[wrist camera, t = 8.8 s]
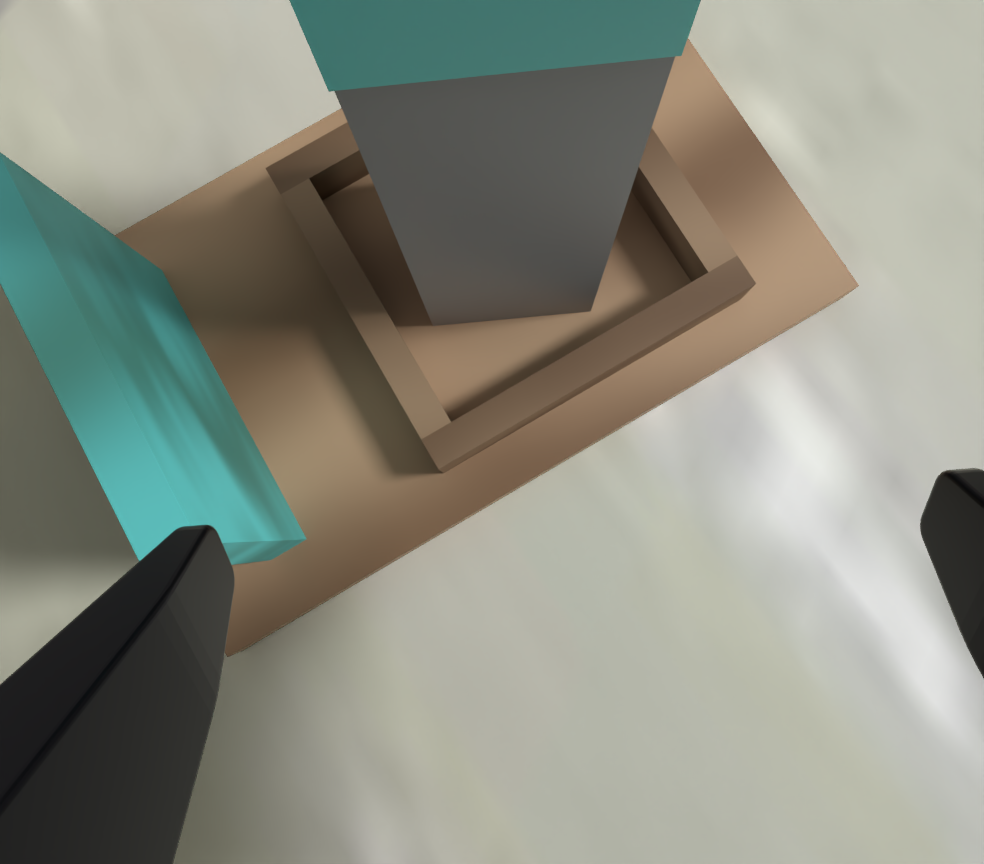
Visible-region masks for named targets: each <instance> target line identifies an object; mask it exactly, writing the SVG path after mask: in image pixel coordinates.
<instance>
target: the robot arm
mask: <svg viewBox="0 0 984 864" xmlns="http://www.w3.org/2000/svg"><path fill="white" fill-rule="evenodd" d="M920 529H921V535H922V538H923V541H924V544H925V546H926V548H927V551H928V553H929V556H930V558H931V561H932V563H933V566H934V568H935V571H936V573H937V575H938V578H939V580H940V583H941V585H942V588H943V590H944V593H945V595H946V598H947V600H948V603H949V605H950V607H951V610H952V612H953V615H954V617H955V620H956V622H957V625H958V627H959V630H960V632H961V634H962V636H963V638H964V641H965V643H966V645H967V647H968V649H969V651H970V653H971V655H972V657H973V659H974V661H975V663H976V665H977V667H978V669H979V671H980V672H981V674H982V676H983V678H984V471H983V470H981V469H975V468H970V469H956V470H947V471H944V472H942V473H941V474H940V475H939V476H938V477H937V479H936V481H935V483H934V486H933V489H932V491H931V494H930V496H929V499H928V501H927V504H926V507H925V509H924V512H923V514H922V517H921V523H920ZM234 586H235V577H234V571H233V567H232V565H231V562H230V560H229V558H228V555H227V553H226V551H225V548H224V546H223V544H222V541H221V539H220V537H219V534H218V532H217V531H216V529H215V528H214V527H213V526H211V525H195V526H183V527H179V528H178V529H176V530H175V531H173V532H172V533H171V534H170V535H169V536H168V537H166V538H165V539H164V540H163V541H162V542H161V543H160V544H159V545H157V546H156V547H155V548H154V549H153V550H152V551H151V552H149V553H148V554H147V555H146V556H145V557H144V558H143V559H142V560H140V561H139V562H138V563H137V564H136V565H135V566H134V567H133V568H131V569H130V570H129V571H128V572H127V573H126V574H125V575H123V576H122V577H121V578H120V579H119V580H118V581H117V582H116V583H114V584H113V585H112V586H111V587H110V588H109V589H108V590H107V591H105V592H104V593H103V594H102V595H101V596H100V597H99V598H98V599H96V600H95V601H94V602H93V603H92V604H91V605H90V606H88V607H87V608H86V609H85V610H84V611H83V612H82V613H81V614H79V615H78V616H77V617H76V618H75V619H74V620H73V621H72V622H70V623H69V624H68V625H67V626H66V627H65V628H64V629H63V630H61V631H60V632H59V633H58V634H57V635H56V636H55V637H53V638H52V639H51V640H50V641H49V642H48V643H47V644H46V645H44V646H43V647H42V648H41V649H40V650H39V651H38V652H37V653H35V654H34V655H33V656H32V657H31V658H30V659H29V660H28V661H26V662H25V663H24V664H23V665H22V666H21V667H20V668H18V669H17V670H16V671H15V672H14V673H13V674H12V675H11V676H9V677H8V678H7V679H6V680H5V681H4V682H3V683H2V684H0V864H173V861H174V857H175V854H176V850H177V846H178V843H179V839H180V835H181V832H182V828H183V824H184V821H185V817H186V813H187V809H188V806H189V802H190V798H191V795H192V791H193V787H194V784H195V780H196V776H197V772H198V769H199V765H200V761H201V758H202V754H203V750H204V747H205V743H206V739H207V735H208V732H209V728H210V724H211V721H212V717H213V713H214V709H215V705H216V701H217V696H218V691H219V685H220V679H221V673H222V666H223V660H224V653H225V646H226V640H227V633H228V626H229V620H230V613H231V606H232V600H233V593H234Z"/></svg>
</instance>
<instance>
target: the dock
mask: <svg viewBox="0 0 984 864" xmlns="http://www.w3.org/2000/svg"><path fill="white" fill-rule="evenodd" d="M0 284H1V286H2V288H3V290H4V292H5V294H6V296H7V298H8V300H9V302H10V304H11V306H12V308H13V310H14V312H15V314H16V316H17V318H18V320H19V322H20V324H21V326H22V328H23V330H24V332H25V334H26V336H27V338H28V340H29V342H30V344H31V346H32V348H33V350H34V352H35V354H36V356H37V358H38V360H39V362H40V364H41V366H42V368H43V370H44V372H45V374H46V376H47V378H48V380H49V382H50V384H51V386H52V388H53V390H54V392H55V394H56V396H57V398H58V400H59V402H60V404H61V406H62V408H63V410H64V412H65V414H66V416H67V418H68V420H69V422H70V424H71V426H72V428H73V430H74V432H75V434H76V436H77V438H78V440H79V442H80V444H81V446H82V448H83V450H84V452H85V454H86V456H87V458H88V460H89V462H90V464H91V466H92V468H93V470H94V472H95V474H96V476H97V478H98V480H99V482H100V484H101V486H102V488H103V490H104V492H105V494H106V496H107V498H108V500H109V502H110V504H111V506H112V508H113V510H114V512H115V514H116V516H117V518H118V520H119V522H120V524H121V526H122V528H123V530H124V532H125V534H126V536H127V538H128V540H129V542H130V544H131V546H132V548H133V550H134V552H135V554H136V556H137V558H138V560H139V561H140V560H142V559H143V558H144V557H145V556H146V555H147V554H148V553H149V552H151V551H152V550H153V549H154V548H155V547H156V546H157V545H159V544H160V543H161V542H162V541H163V540H164V539H165V538H166V537H168V536H169V535H170V534H171V533H172V532H173V531H175V530H176V529H178V528H179V527H183V526H195V525H211V526H213V527H214V528H215V529H216V531H217V532H218V534H219V537H220V539H221V541H222V544H223V546H224V548H225V551H226V553H227V555H228V558H229V560H230V562H231V565H232V567H233V571H234V577H235V586H234V593H233V600H232V606H231V613H230V620H229V626H228V633H227V640H226V646H225V653H226V655H227V657H229V656H231V655H233V654H236V653H238V652H240V651H243V650H244V649H246V648H248V647H250V646H251V645H253V644H255V643H256V642H258V641H260V640H261V639H263V638H265V637H267V636H268V635H270V634H272V633H273V632H275V631H277V630H278V629H280V628H282V627H284V626H285V625H287V624H289V623H290V622H292V621H294V620H295V619H297V618H299V617H301V616H302V615H304V614H306V613H307V612H309V611H311V610H312V609H314V608H316V607H318V606H319V605H321V604H323V603H324V602H326V601H328V600H329V599H331V598H333V597H335V596H336V595H338V594H340V593H341V592H343V591H345V590H346V589H348V588H350V587H352V586H353V585H355V584H357V583H358V582H360V581H362V580H363V579H365V578H367V577H369V576H370V575H372V574H374V573H375V572H377V571H379V570H380V569H382V568H384V567H385V566H387V565H389V564H391V563H392V562H394V561H396V560H397V559H399V558H401V557H402V556H404V555H406V554H408V553H409V552H411V551H413V550H414V549H416V548H418V547H419V546H421V545H423V544H425V543H426V542H428V541H430V540H431V539H433V538H435V537H436V536H438V535H440V534H442V533H443V532H445V531H447V530H448V529H450V528H452V527H453V526H455V525H457V524H459V523H460V522H462V521H464V520H465V519H467V518H469V517H470V516H472V515H474V514H476V513H477V512H479V511H481V510H482V509H484V508H486V507H487V506H489V505H491V504H493V503H494V502H496V501H498V500H499V499H501V498H503V497H504V496H506V495H508V494H510V493H511V492H513V491H515V490H516V489H518V488H520V487H521V486H523V485H525V484H527V483H528V482H530V481H532V480H533V479H535V478H537V477H538V476H540V475H542V474H544V473H545V472H547V471H549V470H550V469H552V468H554V467H555V466H557V465H559V464H561V463H562V462H564V461H566V460H567V459H569V458H571V457H572V456H574V455H576V454H578V453H579V452H581V451H583V450H584V449H586V448H588V447H589V446H591V445H593V444H595V443H596V442H598V441H600V440H601V439H603V438H605V437H606V436H608V435H610V434H612V433H613V432H615V431H617V430H618V429H620V428H622V427H623V426H625V425H627V424H629V423H630V422H632V421H634V420H635V419H637V418H639V417H640V416H642V415H644V414H646V413H647V412H649V411H651V410H652V409H654V408H656V407H657V406H659V405H661V404H663V403H664V402H666V401H668V400H669V399H671V398H673V397H674V396H676V395H678V394H680V393H681V392H683V391H685V390H686V389H688V388H690V387H691V386H693V385H695V384H697V383H698V382H700V381H702V380H703V379H705V378H707V377H708V376H710V375H712V374H714V373H715V372H717V371H719V370H720V369H722V368H724V367H725V366H727V365H729V364H731V363H732V362H734V361H736V360H737V359H739V358H741V357H742V356H744V355H746V354H748V353H749V352H751V351H753V350H754V349H756V348H758V347H759V346H761V345H763V344H765V343H766V342H768V341H770V340H771V339H773V338H775V337H776V336H778V335H780V334H782V333H783V332H785V331H787V330H788V329H790V328H792V327H793V326H795V325H797V324H799V323H800V322H802V321H804V320H805V319H807V318H809V317H810V316H812V315H814V314H816V313H817V312H819V311H821V310H822V309H824V308H826V307H827V306H829V305H831V304H833V303H834V302H836V301H838V300H839V299H841V298H842V297H844V296H845V295H847V294H848V293H849V292H851V291H852V290H854V289H855V288H856V287H858V286H859V285H858V283H857V282H856V281H855V279H854V278H853V276H852V275H851V273H850V272H849V270H848V269H847V268H846V266H845V265H844V263H843V262H842V260H841V259H840V257H839V256H838V255H837V253H836V252H835V250H834V249H833V247H832V246H831V244H830V243H829V242H828V240H827V239H826V237H825V236H824V234H823V233H822V231H821V230H820V229H819V227H818V226H817V224H816V223H815V221H814V220H813V218H812V217H811V216H810V214H809V213H808V211H807V210H806V208H805V207H804V205H803V204H802V203H801V201H800V200H799V198H798V197H797V195H796V194H795V192H794V191H793V190H792V188H791V187H790V185H789V184H788V182H787V181H786V179H785V178H784V177H783V175H782V174H781V172H780V171H779V169H778V168H777V166H776V165H775V163H774V162H773V161H772V159H771V158H770V156H769V155H768V153H767V152H766V150H765V149H764V148H763V146H762V145H761V143H760V142H759V140H758V139H757V137H756V136H755V135H754V133H753V132H752V130H751V129H750V127H749V126H748V124H747V123H746V122H745V120H744V119H743V117H742V116H741V114H740V113H739V111H738V110H737V109H736V107H735V106H734V104H733V103H732V101H731V100H730V98H729V97H728V96H727V94H726V93H725V91H724V90H723V88H722V87H721V85H720V84H719V83H718V81H717V80H716V78H715V77H714V75H713V74H712V72H711V71H710V70H709V68H708V67H707V65H706V64H705V62H704V61H703V59H702V58H701V57H700V55H699V54H698V52H697V51H696V49H695V48H694V46H693V45H692V44H691V42H690V41H689V39H687V41H686V44H685V47H684V50H683V53H682V56H675V59H674V62H673V65H672V68H671V71H670V74H669V77H668V80H667V83H666V86H665V89H664V92H663V95H662V98H661V101H660V104H659V107H658V110H657V113H656V116H655V119H654V122H653V125H652V128H651V131H650V134H649V137H648V140H647V143H646V146H645V149H644V152H643V155H642V158H641V161H640V164H639V167H638V170H637V173H636V176H635V179H634V182H633V185H632V189H631V192H630V195H629V198H628V201H627V204H626V207H625V210H624V213H623V216H622V219H621V222H620V225H619V228H618V231H617V234H616V237H615V240H614V243H613V246H612V249H611V252H610V255H609V258H608V261H607V264H606V267H605V270H604V273H603V276H602V279H601V282H600V285H599V288H598V291H597V294H596V297H595V300H594V303H593V306H592V309H591V311H589V312H578V313H567V314H557V315H546V316H535V317H524V318H513V319H503V320H492V321H481V322H470V323H459V324H449V325H438V326H433V325H432V322H431V320H430V318H429V315H428V313H427V311H426V308H425V306H424V303H423V301H422V299H421V296H420V294H419V291H418V289H417V287H416V284H415V282H414V279H413V277H412V275H411V272H410V270H409V268H408V265H407V263H406V260H405V258H404V256H403V253H402V251H401V248H400V246H399V244H398V241H397V239H396V236H395V234H394V232H393V229H392V227H391V225H390V222H389V220H388V217H387V215H386V213H385V210H384V208H383V205H382V203H381V201H380V198H379V196H378V193H377V191H376V189H375V186H374V184H373V182H372V179H371V177H370V174H369V172H368V170H367V167H366V165H365V162H364V160H363V158H362V155H361V153H360V150H359V148H358V146H357V143H356V141H355V139H354V136H353V134H352V131H351V129H350V127H349V124H348V122H347V119H346V117H345V115H344V112H343V110H342V108H341V109H340V110H338V111H336V112H334V113H332V114H331V115H329V116H327V117H325V118H323V119H322V120H320V121H318V122H316V123H315V124H313V125H311V126H309V127H307V128H306V129H304V130H302V131H300V132H298V133H297V134H295V135H293V136H291V137H290V138H288V139H286V140H284V141H282V142H281V143H279V144H277V145H275V146H273V147H272V148H270V149H268V150H266V151H265V152H263V153H261V154H259V155H257V156H256V157H254V158H252V159H250V160H249V161H247V162H245V163H243V164H241V165H240V166H238V167H236V168H234V169H232V170H231V171H229V172H227V173H225V174H224V175H222V176H220V177H218V178H216V179H215V180H213V181H211V182H209V183H207V184H206V185H204V186H202V187H200V188H199V189H197V190H195V191H193V192H191V193H190V194H188V195H186V196H184V197H182V198H181V199H179V200H177V201H175V202H174V203H172V204H170V205H168V206H166V207H165V208H163V209H161V210H159V211H157V212H156V213H154V214H152V215H150V216H149V217H147V218H145V219H143V220H141V221H140V222H138V223H136V224H134V225H132V226H131V227H129V228H127V229H125V230H124V231H122V232H120V233H118V234H116V235H115V236H114V235H113V234H112V233H110V232H109V231H108V230H106V229H105V228H103V227H102V226H101V225H99V224H98V223H97V222H95V221H94V220H92V219H91V218H90V217H88V216H87V215H86V214H84V213H83V212H81V211H80V210H79V209H77V208H76V207H75V206H73V205H72V204H70V203H69V202H68V201H66V200H65V199H64V198H62V197H61V196H59V195H58V194H57V193H55V192H54V191H53V190H51V189H50V188H49V187H47V186H46V185H44V184H43V183H42V182H40V181H39V180H38V179H36V178H35V177H33V176H32V175H31V174H29V173H28V172H27V171H25V170H24V169H22V168H21V167H20V166H18V165H17V164H16V163H14V162H13V161H11V160H10V159H9V158H7V157H6V156H5V155H3V154H2V153H0Z"/></svg>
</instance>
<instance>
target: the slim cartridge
mask: <svg viewBox="0 0 984 864" xmlns="http://www.w3.org/2000/svg"><path fill="white" fill-rule="evenodd" d="M700 1H701V0H290V2H291V5H292V7H293V9H294V12H295V14H296V16H297V19H298V21H299V23H300V26H301V28H302V30H303V33H304V35H305V37H306V40H307V42H308V44H309V46H310V49H311V51H312V53H313V56H314V58H315V60H316V63H317V65H318V67H319V70H320V72H321V74H322V77H323V79H324V81H325V84H326V86H327V88H328V90H329V91H335V93H336V96H337V98H338V100H339V103H340V105H341V107H342V110H343V112H344V115H345V117H346V119H347V122H348V124H349V127H350V129H351V131H352V134H353V136H354V139H355V141H356V143H357V146H358V148H359V150H360V153H361V155H362V158H363V160H364V162H365V165H366V167H367V170H368V172H369V174H370V177H371V179H372V182H373V184H374V186H375V189H376V191H377V193H378V196H379V198H380V201H381V203H382V205H383V208H384V210H385V213H386V215H387V217H388V220H389V222H390V225H391V227H392V229H393V232H394V234H395V236H396V239H397V241H398V244H399V246H400V248H401V251H402V253H403V256H404V258H405V260H406V263H407V265H408V268H409V270H410V272H411V275H412V277H413V279H414V282H415V284H416V287H417V289H418V291H419V294H420V296H421V299H422V301H423V303H424V306H425V308H426V311H427V313H428V315H429V318H430V320H431V322H432V325H433V326H438V325H449V324H459V323H470V322H481V321H492V320H503V319H513V318H524V317H535V316H546V315H557V314H567V313H578V312H589V311H591V309H592V306H593V303H594V300H595V297H596V294H597V291H598V288H599V285H600V282H601V279H602V276H603V273H604V270H605V267H606V264H607V261H608V258H609V255H610V252H611V249H612V246H613V243H614V240H615V237H616V234H617V231H618V228H619V225H620V222H621V219H622V216H623V213H624V210H625V207H626V204H627V201H628V198H629V195H630V192H631V189H632V185H633V182H634V179H635V176H636V173H637V170H638V167H639V164H640V161H641V158H642V155H643V152H644V149H645V146H646V143H647V140H648V137H649V134H650V131H651V128H652V125H653V122H654V119H655V116H656V113H657V110H658V107H659V104H660V101H661V98H662V95H663V92H664V89H665V86H666V83H667V80H668V77H669V74H670V71H671V68H672V65H673V62H674V59H675V56H682V53H683V50H684V47H685V44H686V41H687V39H688V36H689V33H690V30H691V27H692V24H693V21H694V18H695V15H696V12H697V10H698V7H699V4H700Z"/></svg>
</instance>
